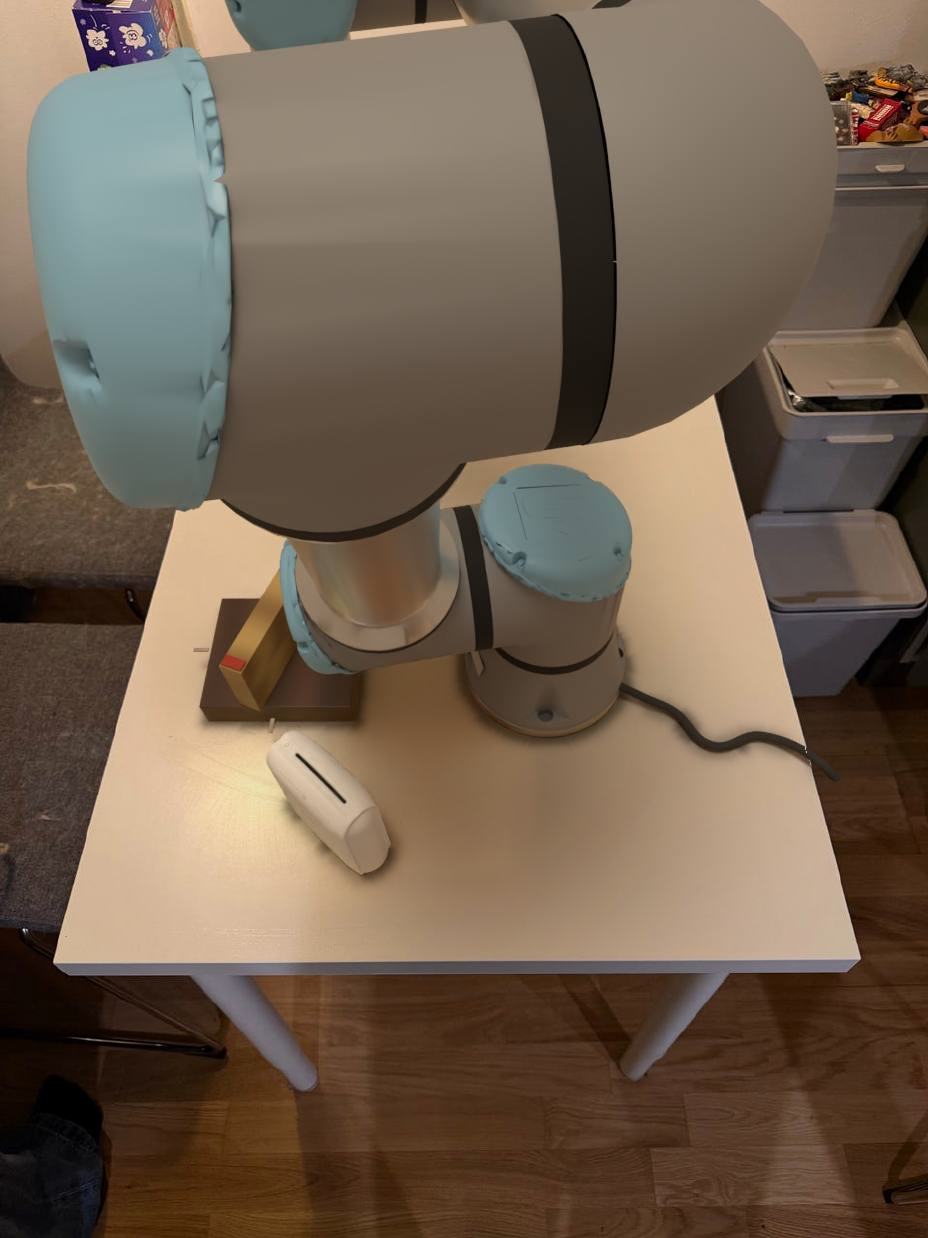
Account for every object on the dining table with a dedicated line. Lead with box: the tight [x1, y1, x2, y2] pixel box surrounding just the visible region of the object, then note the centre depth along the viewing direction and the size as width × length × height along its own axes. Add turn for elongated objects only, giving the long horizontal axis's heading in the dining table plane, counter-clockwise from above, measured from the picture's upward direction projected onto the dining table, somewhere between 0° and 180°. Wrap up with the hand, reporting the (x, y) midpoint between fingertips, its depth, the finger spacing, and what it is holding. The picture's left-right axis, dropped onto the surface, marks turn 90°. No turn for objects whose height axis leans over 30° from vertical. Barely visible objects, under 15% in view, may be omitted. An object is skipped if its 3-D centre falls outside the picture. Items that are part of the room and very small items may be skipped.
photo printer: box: [266, 730, 392, 876], centre depth 68 cm, size 10×4×12 cm, turn 46°
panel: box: [192, 597, 361, 734], centre depth 81 cm, size 17×17×3 cm
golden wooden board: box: [219, 567, 297, 711], centre depth 76 cm, size 13×2×7 cm, turn 159°
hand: (347, 317), depth 83 cm, fingers closed
